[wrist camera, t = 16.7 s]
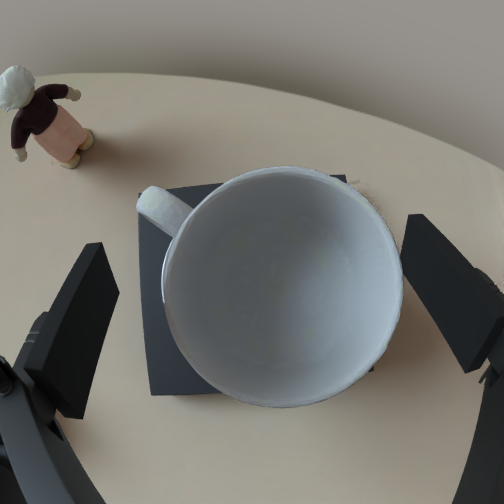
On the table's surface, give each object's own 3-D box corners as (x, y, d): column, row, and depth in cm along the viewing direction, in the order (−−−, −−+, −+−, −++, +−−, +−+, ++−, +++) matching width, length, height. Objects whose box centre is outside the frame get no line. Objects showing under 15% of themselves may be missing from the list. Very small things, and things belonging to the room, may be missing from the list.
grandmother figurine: (80, 117, 28) (23, 37, 15) (107, 125, 28) (51, 37, 15) (41, 182, 26) (-38, 118, 14) (66, 194, 26) (-17, 126, 14)
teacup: (384, 290, 21) (445, 275, 13) (277, 409, 20) (290, 457, 12) (238, 159, 23) (232, 90, 15) (130, 266, 22) (73, 240, 14)
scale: (337, 186, 27) (346, 172, 24) (362, 366, 24) (375, 371, 21) (147, 203, 26) (137, 191, 23) (159, 389, 23) (149, 396, 20)
